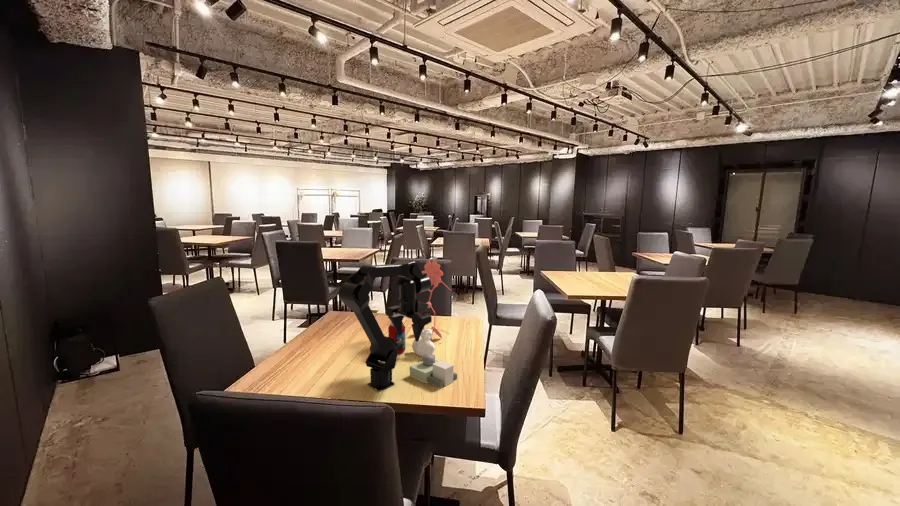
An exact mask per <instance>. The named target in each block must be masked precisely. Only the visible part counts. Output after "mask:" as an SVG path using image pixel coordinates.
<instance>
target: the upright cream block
mask: <svg viewBox="0 0 900 506" xmlns="http://www.w3.org/2000/svg"><path fill="white" fill-rule="evenodd" d="M437 361H438V362H436V363H434V364H433V377H434V378H436V379H438V380H441V381H442V386H444V387H446V385H447V386H449V385H450V383H451V384H452V383H454V380H453V372H454V364H451V363H449V362H445V361H443V360H441V359H440V360H437ZM448 384H449V385H448Z"/></svg>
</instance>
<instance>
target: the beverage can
mask: <svg viewBox="0 0 900 506" xmlns="http://www.w3.org/2000/svg"><path fill="white" fill-rule="evenodd" d="M387 337H390V338H393V339H394V341H395V344H396V345H397V346H398V347H397V350H398V355H400V354H402V353H404V352H405V351H406V326H405V324H404V322H403V321H402V334H401V335H398V333H397V331H396V329H395V327H394V325H393V324H392V322H390V324H389V325H388V336H387Z"/></svg>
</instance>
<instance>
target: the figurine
mask: <svg viewBox="0 0 900 506" xmlns="http://www.w3.org/2000/svg"><path fill="white" fill-rule="evenodd" d="M423 267H424V268H423V269H424V270H421V272H422V273H427V277H429V279H430V281H431V287H432V286H433V287H432V289H429V290H427V291H428V292H430V294H429V299H428V301H427V302H426V304H429V305H428V309H430V308H431V309H432V311H433V313H434V314H436V311H435V310H434V309H433V307H432V303H431V301H430V300H431V298H432V294H433V291H434V290H435V289H436V288H437V287H438V286H439V284H441V283H442V284H443V285H444V287H446V288H447V289H448V290H449V291H451V292H452V289H451V288H449V286H448V285H446V283H445V282H444V281H442V278H441V277H442V276H444V272H443V271H442V270H441V269H440V268H441V264H439V263H437V260H433V261H432V262H431V260H430V259H427V260H426V264H424V266H423ZM433 325H434V326H432V327H431V330H432V337H433V334H434V333H435V334H436V336H438V337H439V338H441V339H442V338H443V337H442V334H441V333H440V330H439V329H438V328H436V317H434V322H433ZM425 329H430V328H428V327H427V328H425V327H424V328H423V330H425ZM441 331H442V332H445V333H447V334H449V332H447V331H445V330H444V331H443V329H441ZM432 337H430V338H429V339H430V341H431V340H432ZM431 342H432V341H431ZM441 344H442V342H441V343H439V345H441Z"/></svg>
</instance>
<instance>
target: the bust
mask: <svg viewBox="0 0 900 506" xmlns="http://www.w3.org/2000/svg"><path fill="white" fill-rule="evenodd" d="M432 331H433V329H432V328H429V329H424V330H422V332H421V335H420V338H419V341H417V342H416V341H415V339H413V341H412V344H411V348H412V351H413V352H414V353H415V354H416V356H419V357H421V358H423V355H425V354H433V353H434V352H435V350H436V346H435V344H434V342H433V341H430V337H433V335H432Z"/></svg>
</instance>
